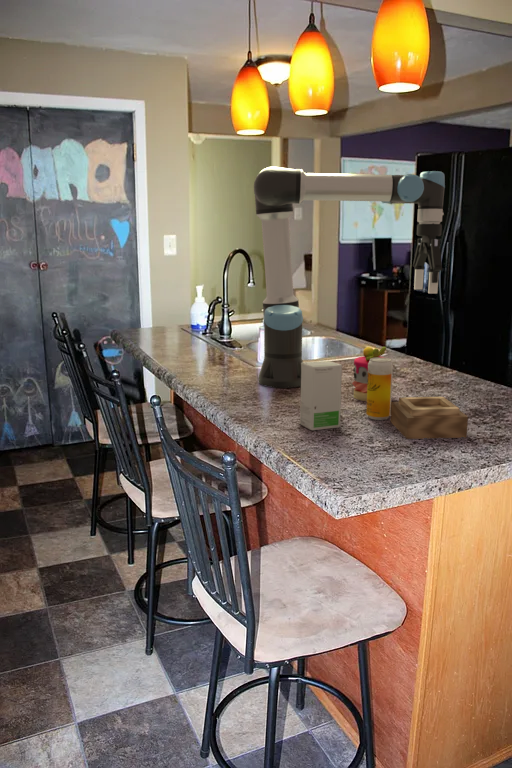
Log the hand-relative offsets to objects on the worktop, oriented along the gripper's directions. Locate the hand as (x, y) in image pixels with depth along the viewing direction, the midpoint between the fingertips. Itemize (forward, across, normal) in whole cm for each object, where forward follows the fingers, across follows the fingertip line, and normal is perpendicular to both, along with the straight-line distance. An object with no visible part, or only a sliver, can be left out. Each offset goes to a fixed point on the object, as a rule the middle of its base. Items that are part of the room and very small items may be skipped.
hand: (425, 291), depth 211 cm
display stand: (+27, -60, +19) cm, 69 cm away
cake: (+27, -29, +24) cm, 47 cm away
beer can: (+27, -49, +28) cm, 62 cm away
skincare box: (+27, -55, +44) cm, 75 cm away
